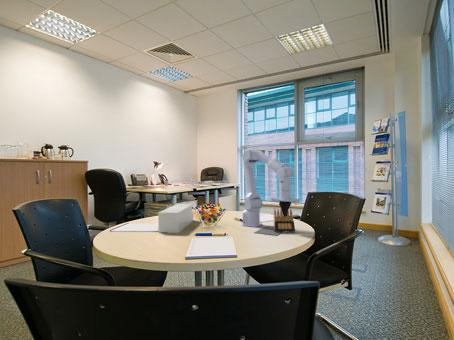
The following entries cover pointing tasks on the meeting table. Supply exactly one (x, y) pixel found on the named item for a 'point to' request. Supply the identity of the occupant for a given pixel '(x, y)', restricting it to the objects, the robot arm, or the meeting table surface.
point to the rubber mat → (267, 231)
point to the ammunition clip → (283, 222)
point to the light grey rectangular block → (175, 218)
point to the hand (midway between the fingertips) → (285, 216)
